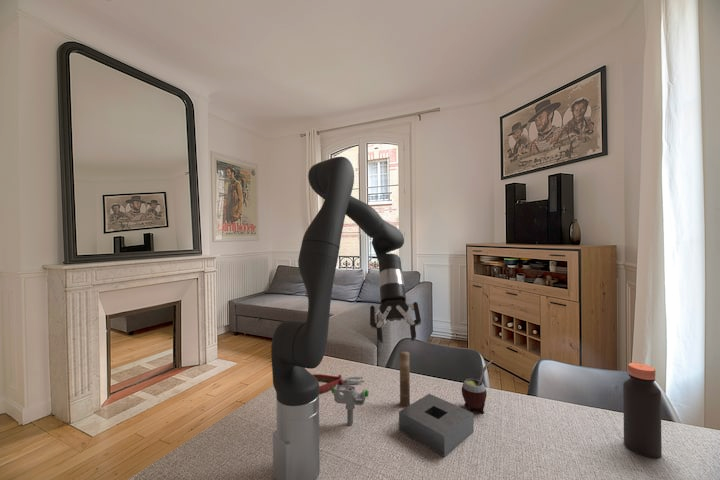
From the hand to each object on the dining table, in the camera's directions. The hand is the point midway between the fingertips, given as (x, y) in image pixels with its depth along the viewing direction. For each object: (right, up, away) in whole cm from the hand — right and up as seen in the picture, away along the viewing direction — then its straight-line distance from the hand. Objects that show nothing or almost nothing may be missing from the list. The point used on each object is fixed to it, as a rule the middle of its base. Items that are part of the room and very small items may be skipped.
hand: (397, 341), depth 83 cm
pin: (+4, -24, +11) cm, 26 cm away
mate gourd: (+25, -24, +9) cm, 35 cm away
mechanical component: (-13, -24, +2) cm, 27 cm away
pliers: (-20, -25, +23) cm, 39 cm away
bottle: (+59, -23, -9) cm, 64 cm away
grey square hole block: (+10, -23, -2) cm, 26 cm away
